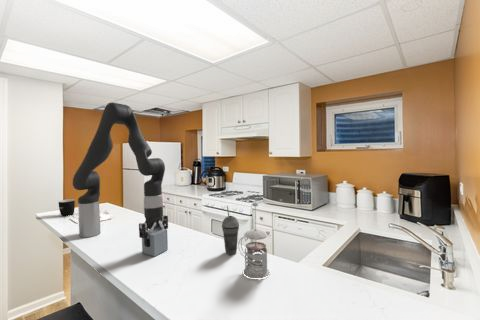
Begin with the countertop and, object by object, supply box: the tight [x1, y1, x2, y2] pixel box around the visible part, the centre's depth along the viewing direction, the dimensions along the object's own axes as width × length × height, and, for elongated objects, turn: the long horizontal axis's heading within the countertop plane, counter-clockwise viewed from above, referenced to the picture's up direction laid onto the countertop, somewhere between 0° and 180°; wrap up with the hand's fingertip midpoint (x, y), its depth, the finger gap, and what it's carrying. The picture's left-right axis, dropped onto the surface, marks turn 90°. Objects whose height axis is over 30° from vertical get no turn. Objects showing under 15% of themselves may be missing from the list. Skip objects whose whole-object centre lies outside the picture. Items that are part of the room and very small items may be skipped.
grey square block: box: [141, 228, 169, 257], centre depth 103 cm, size 7×7×9 cm
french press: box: [237, 202, 271, 278], centre depth 85 cm, size 10×12×25 cm
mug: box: [58, 198, 76, 217], centre depth 164 cm, size 12×9×10 cm
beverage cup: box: [221, 205, 240, 256], centre depth 101 cm, size 7×7×20 cm
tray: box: [70, 210, 113, 224], centre depth 158 cm, size 20×28×4 cm
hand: (154, 243), depth 103 cm, fingers closed on grey square block, 7 cm apart
